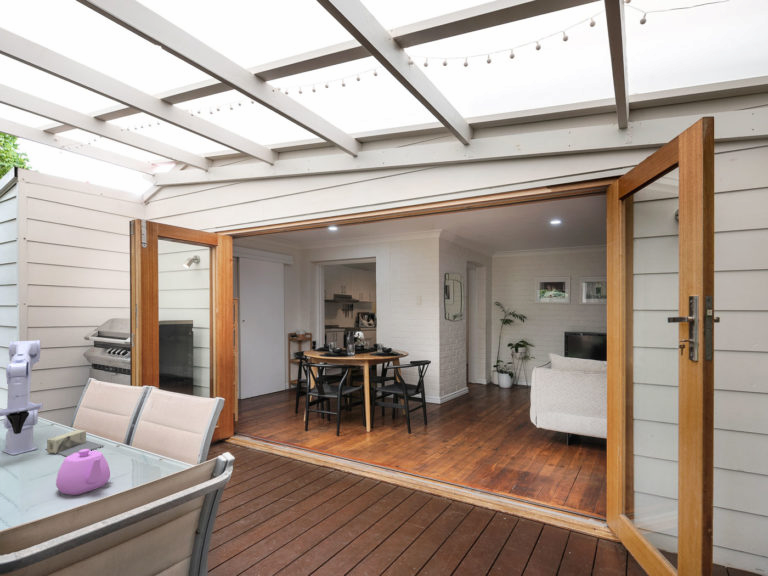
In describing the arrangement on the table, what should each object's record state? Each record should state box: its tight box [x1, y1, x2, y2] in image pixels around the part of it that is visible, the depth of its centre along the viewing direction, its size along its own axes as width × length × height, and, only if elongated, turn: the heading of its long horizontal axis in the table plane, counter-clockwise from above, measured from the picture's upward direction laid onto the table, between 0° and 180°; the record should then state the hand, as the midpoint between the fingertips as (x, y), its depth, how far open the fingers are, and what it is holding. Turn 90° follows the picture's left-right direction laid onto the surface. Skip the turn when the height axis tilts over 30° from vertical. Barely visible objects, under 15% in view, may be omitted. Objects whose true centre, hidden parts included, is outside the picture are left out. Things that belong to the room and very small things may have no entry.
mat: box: [44, 439, 105, 458], centre depth 168 cm, size 17×13×1 cm
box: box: [46, 429, 87, 454], centre depth 168 cm, size 5×4×13 cm
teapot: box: [55, 449, 111, 496], centre depth 131 cm, size 20×13×12 cm, turn 56°
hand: (17, 433), depth 154 cm, fingers closed
